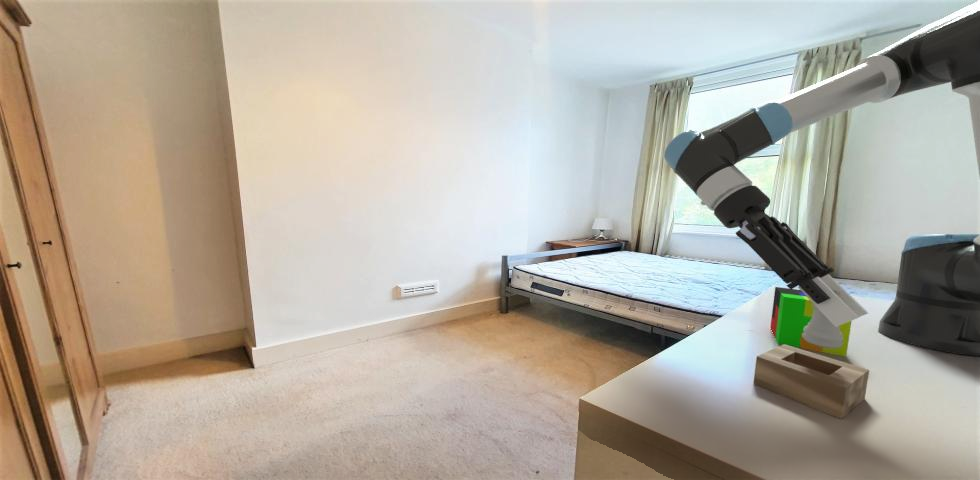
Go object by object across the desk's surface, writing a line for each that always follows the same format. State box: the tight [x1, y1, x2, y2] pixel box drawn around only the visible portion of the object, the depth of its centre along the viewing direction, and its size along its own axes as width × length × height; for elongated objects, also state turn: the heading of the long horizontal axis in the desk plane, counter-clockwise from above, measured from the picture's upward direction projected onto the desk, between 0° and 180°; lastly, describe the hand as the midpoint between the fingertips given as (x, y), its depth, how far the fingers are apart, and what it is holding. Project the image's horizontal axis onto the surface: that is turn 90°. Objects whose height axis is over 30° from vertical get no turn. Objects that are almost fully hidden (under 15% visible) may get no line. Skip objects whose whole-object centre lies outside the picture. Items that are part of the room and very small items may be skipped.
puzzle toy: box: [769, 286, 852, 357], centre depth 71 cm, size 10×10×10 cm
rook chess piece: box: [802, 290, 843, 348], centre depth 50 cm, size 4×4×8 cm
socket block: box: [753, 344, 870, 420], centre depth 51 cm, size 10×10×4 cm
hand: (851, 319), depth 47 cm, fingers closed on rook chess piece, 3 cm apart
